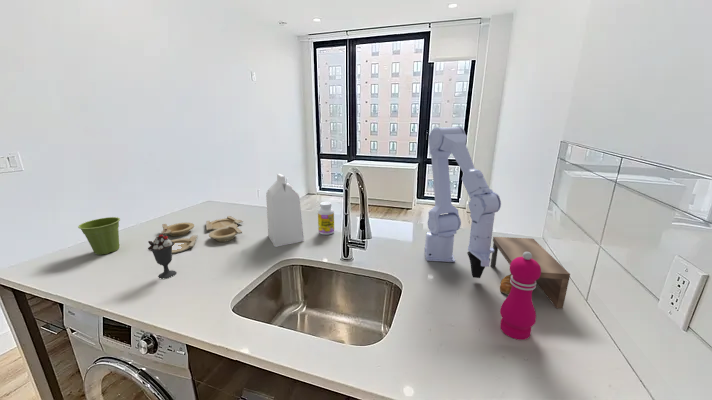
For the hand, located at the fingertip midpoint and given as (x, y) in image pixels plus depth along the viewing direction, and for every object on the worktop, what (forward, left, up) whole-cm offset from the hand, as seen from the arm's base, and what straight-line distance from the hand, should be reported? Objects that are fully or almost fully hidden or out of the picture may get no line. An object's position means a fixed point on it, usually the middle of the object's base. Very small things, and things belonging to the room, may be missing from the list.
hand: (476, 276), depth 91 cm
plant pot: (-130, +5, -2) cm, 130 cm away
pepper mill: (+4, -21, -2) cm, 21 cm away
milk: (-68, +24, -2) cm, 72 cm away
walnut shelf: (+13, 0, -2) cm, 13 cm away
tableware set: (-104, +23, -2) cm, 107 cm away
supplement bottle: (-53, +32, -2) cm, 62 cm away
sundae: (-95, -8, -2) cm, 95 cm away
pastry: (+10, -3, -2) cm, 11 cm away
